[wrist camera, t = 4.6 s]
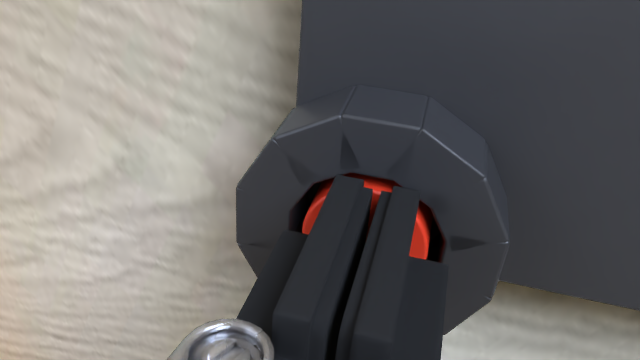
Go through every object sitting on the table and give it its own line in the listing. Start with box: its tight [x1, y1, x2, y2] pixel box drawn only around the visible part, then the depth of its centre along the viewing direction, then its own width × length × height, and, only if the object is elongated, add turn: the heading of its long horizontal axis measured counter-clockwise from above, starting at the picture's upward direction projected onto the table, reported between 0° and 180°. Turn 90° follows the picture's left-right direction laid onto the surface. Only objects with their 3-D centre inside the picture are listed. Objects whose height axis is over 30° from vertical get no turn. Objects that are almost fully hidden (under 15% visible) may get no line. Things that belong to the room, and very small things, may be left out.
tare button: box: [302, 173, 433, 260], centre depth 12 cm, size 3×3×2 cm
